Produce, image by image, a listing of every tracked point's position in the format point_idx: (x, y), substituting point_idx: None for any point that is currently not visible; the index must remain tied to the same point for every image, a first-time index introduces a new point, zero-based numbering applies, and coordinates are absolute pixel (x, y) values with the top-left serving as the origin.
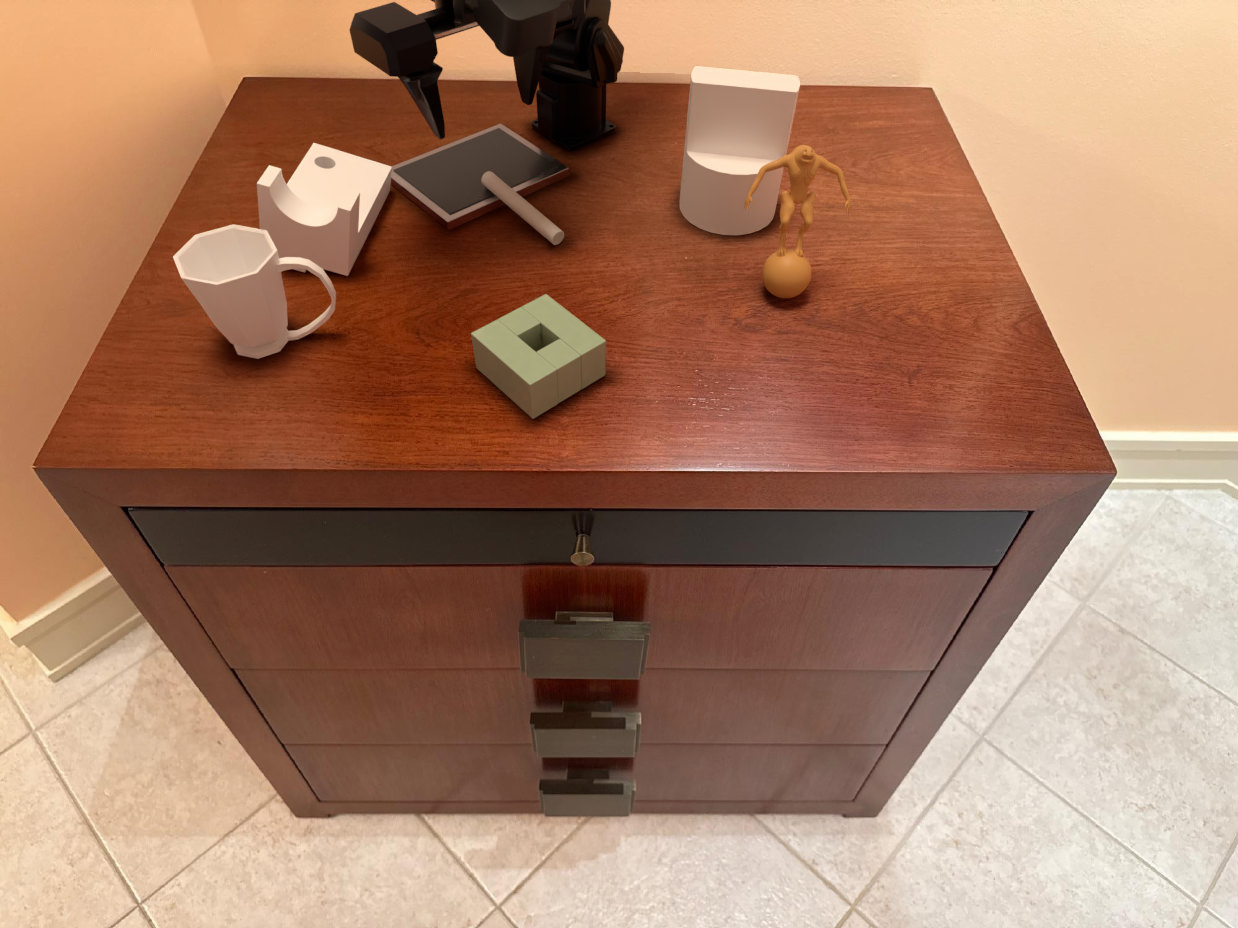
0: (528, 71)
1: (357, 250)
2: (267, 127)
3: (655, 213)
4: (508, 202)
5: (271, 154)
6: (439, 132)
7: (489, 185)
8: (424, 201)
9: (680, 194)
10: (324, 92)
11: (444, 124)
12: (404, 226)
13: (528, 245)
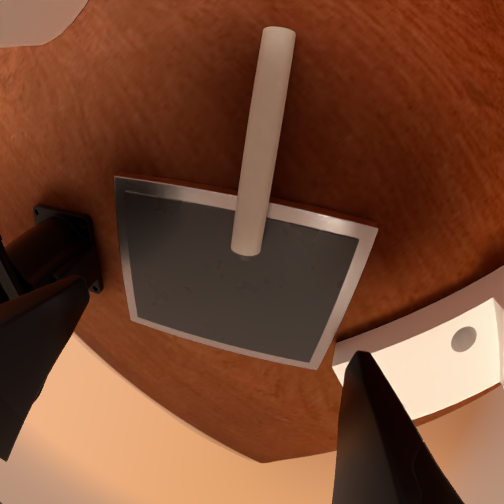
0: (25, 330)
1: (480, 285)
2: (307, 443)
3: (107, 13)
4: (273, 167)
5: None
6: (378, 368)
7: (262, 229)
8: (349, 293)
9: (65, 13)
10: (235, 439)
11: (362, 380)
12: (398, 281)
13: (321, 76)
